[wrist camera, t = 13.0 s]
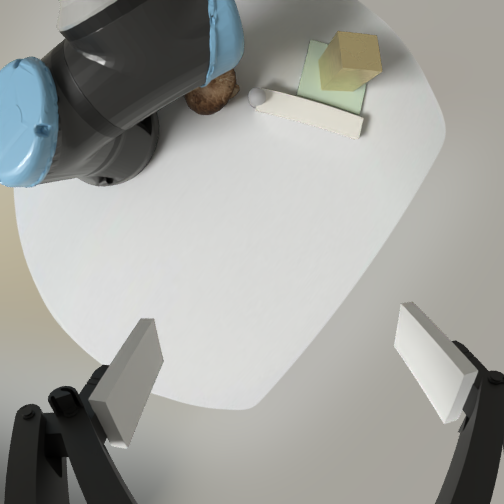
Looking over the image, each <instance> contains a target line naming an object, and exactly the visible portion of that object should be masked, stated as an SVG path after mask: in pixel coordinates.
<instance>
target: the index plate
mask: <svg viewBox="0 0 504 504" xmlns="http://www.w3.org/2000/svg"><path fill="white" fill-rule="evenodd" d="M327 47H328V45H327V44H324V43H321V42H318V41H314V40H311V41H310V44H309V48H308V52H307V56H306V60H305V64H304V68H303V72H302V76H301V79H300V83H299V87H298V91H297V96H300V97H304V98H307V99H311V100H314V101H317V102H321V103H324V104H327V105H330V106H333V107H336V108H339V109H342V110H345V111H348V112H351V113H354V114H357V115H360V110H361V106H362V101H363V97H364V92H365V88H366V83H367V82H366V83H365V84H363V85H362V86H360V87H359V88H357V89H356V90H354V91H353V92H350V91H326V90H321V82H320V72H319V63H318V61H319V59H320V57H321V56H322V54H323V53H324V51H325V50H326V48H327Z"/></svg>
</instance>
